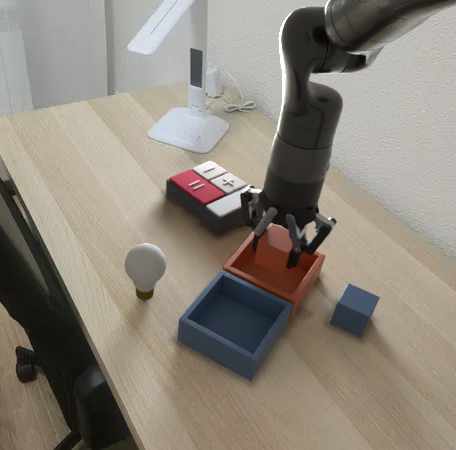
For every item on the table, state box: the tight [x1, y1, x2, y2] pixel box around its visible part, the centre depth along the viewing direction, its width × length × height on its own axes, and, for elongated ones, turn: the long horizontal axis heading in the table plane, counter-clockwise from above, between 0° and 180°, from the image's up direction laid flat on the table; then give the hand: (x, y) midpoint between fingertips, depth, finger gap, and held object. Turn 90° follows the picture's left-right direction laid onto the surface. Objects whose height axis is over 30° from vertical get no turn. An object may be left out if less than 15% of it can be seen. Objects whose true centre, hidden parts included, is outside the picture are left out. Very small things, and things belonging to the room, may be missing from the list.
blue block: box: [329, 282, 381, 339], centre depth 79 cm, size 5×5×5 cm
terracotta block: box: [254, 223, 292, 275], centre depth 81 cm, size 5×5×5 cm
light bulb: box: [124, 242, 167, 301], centre depth 80 cm, size 6×6×10 cm
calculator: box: [165, 160, 265, 237], centre depth 99 cm, size 11×4×15 cm
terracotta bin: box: [222, 230, 327, 323], centre depth 85 cm, size 12×12×4 cm
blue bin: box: [176, 269, 293, 382], centre depth 77 cm, size 12×12×4 cm
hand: (275, 257), depth 83 cm, fingers closed on terracotta block, 4 cm apart
